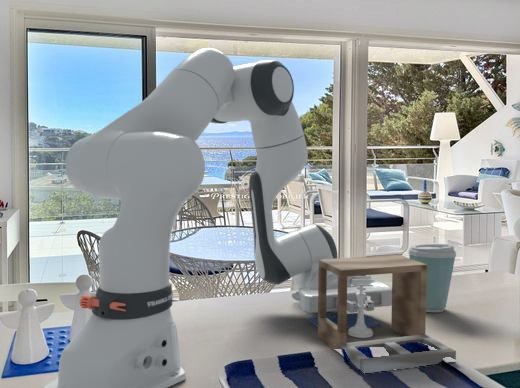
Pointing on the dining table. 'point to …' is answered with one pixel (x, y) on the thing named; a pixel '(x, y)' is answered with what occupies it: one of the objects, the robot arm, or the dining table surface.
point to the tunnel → (403, 312)
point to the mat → (348, 320)
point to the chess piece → (360, 318)
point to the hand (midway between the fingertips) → (363, 307)
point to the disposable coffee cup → (435, 272)
